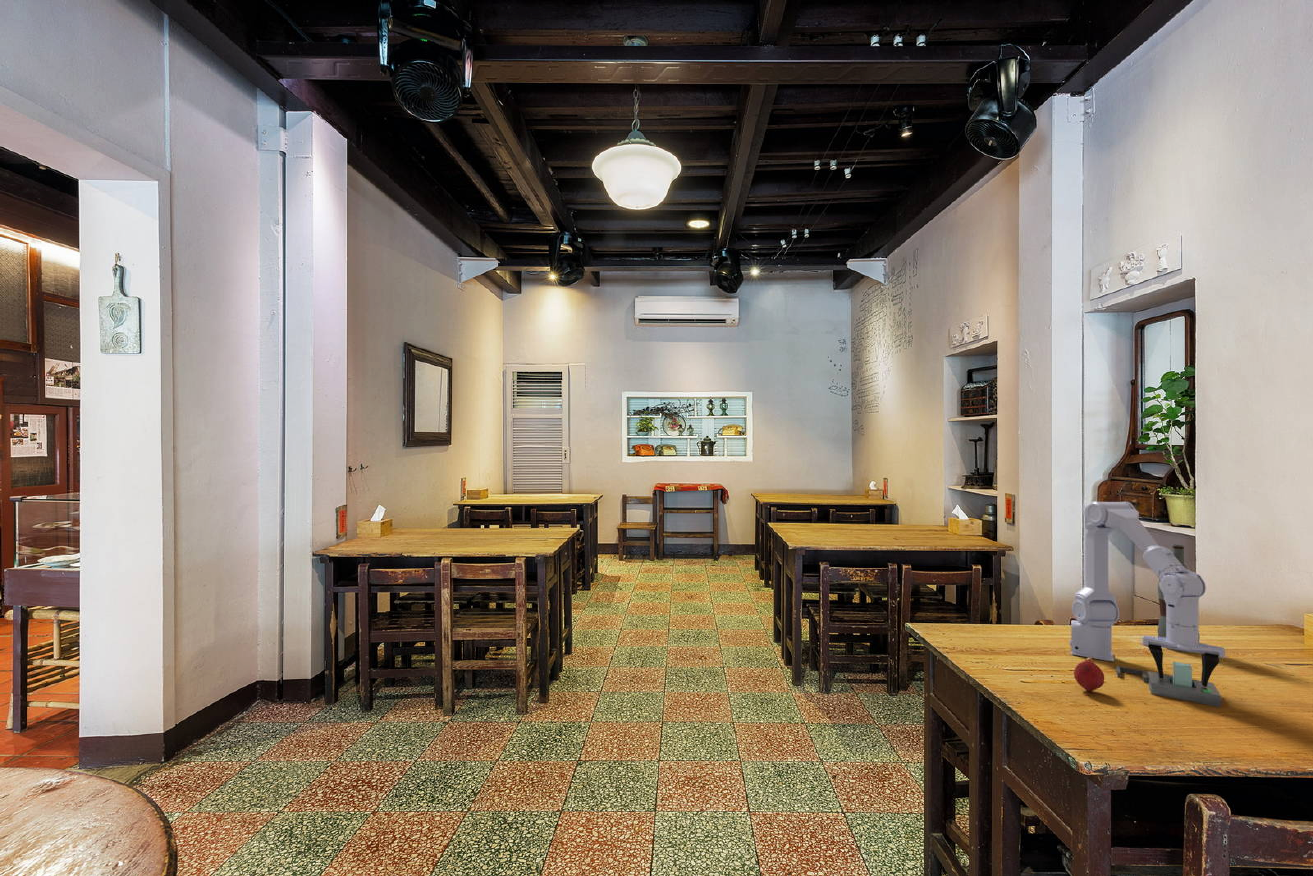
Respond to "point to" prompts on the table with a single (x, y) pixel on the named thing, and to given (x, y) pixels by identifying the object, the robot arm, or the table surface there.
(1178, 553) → the bottle
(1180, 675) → the plug
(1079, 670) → the onion
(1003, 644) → the table surface
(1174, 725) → the table surface
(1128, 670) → the holster
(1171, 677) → the port panel
